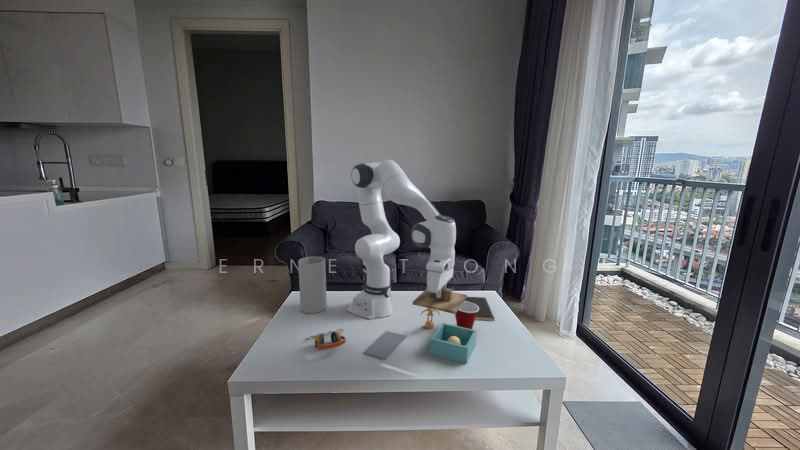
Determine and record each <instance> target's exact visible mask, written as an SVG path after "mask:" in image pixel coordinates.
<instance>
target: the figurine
mask: <svg viewBox="0 0 800 450" xmlns="http://www.w3.org/2000/svg"><path fill="white" fill-rule="evenodd" d="M425 312H427V313H426V317H427V318H426V319H427V320H426V321H425V322H424V326H425V329H427V330H432V329H434V328H435V323H434V321H433V319H434V318H433V317H434V313H433V312H437V314H438V315H439V316H441V314H440V312H439V310H435V309H430V308H427V309H424V310H423V311H422V312H421V313H420V315H422V314H423V313H425Z"/></svg>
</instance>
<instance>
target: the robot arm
mask: <svg viewBox="0 0 800 450" xmlns="http://www.w3.org/2000/svg"><path fill="white" fill-rule="evenodd" d="M350 174H351V175H350V176H351V180H352V182H353V184H354V186H355V187H357V198H358V199H357V200H358V207H359V213H360V216H361V221H362V223H363V225H365V226H367V227H368V228H369V229H370V232H371V234H368V235H364V236H362V237H360V238H359V239H357V241H356V242H355V244H354V252H355V254H356V256H357V257H358V258H359V259H361V260H362V261H363V263H364V265H365V270H366V282H365V283H364V284H363V285H361V288H362V290H361V291H360V292H359V293H357V294H356V295H355V296H354V297H353V299H352V303H351V304H349V306H348V307H347V312H349V313H352V314H354V315H357V316H358V317H362V318H365V319H368V320H372V319H376V318H377V319H379V318H385V317H388V316H390V315H392V314H393V313H394V308H393V305H392V304H393V303H392V299H391V293H392V290H391V289H392V284H391V282H390V281H391V270H390V266H389V265H387V264H386V263H385V262H384V256H385V255H389V254H392V253H393V252H394V251H396V250H397V249H398V248H399V247H400V243H401V239H400V235H398V233H397V232H395V231H394V230H393V229H392V227H391V226H390V224H389V221H388V220H387V217H386V213H385V209H384V203H383V198H382V193H381V191H382V189H383V191H384V193H385V195H386V196H387V197H388V199H390V201H392V202H393V203H395V204H398V205H403V206H408V207H411V208H414V209H415V210H417V211H418V212H419V213H420V215H422V217H423V218H424V220H425V221H421V222H418V223H416V224H414V225H413V226H412V228H411V235H410V236H411V240H412V243H413V244H414V245H415V246H416V247H418V248H428V249H430V255H429V259H428V260H427V262H426V266H425V269H426V270H427V273H426V289H428V291H429V292H433V293H436V297H437V298H441V297H442V293H441V289H442V287H444V288H447V284H448V282H449V281H451V279H452V278H453V276H454V266H455V257H456V250H455V245H456V240H457V226H456V222H455V219H453V218H452V216H451V217H450V216H448V215H443V214H441V213H440V212H439V210H438V209H437V208H436V206H435V205H434V204H433V203H432V201H430V199H429V198H428V197H427V196H426V194H425V193H424V192H422V190H420V189H419V188H417V186H416V185H414V184H413V182H412V181H411V180H410V179H409V177H408V176H407V174H406V173H405V172H404V170H403V169H402V168H401V167H400V165H399V164H398V163H397V162H396V161H394V160H392V159H385V160H382V161H373V162H366V163H358V164H355V165H354V166H353V168H352V170H351V173H350Z"/></svg>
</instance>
